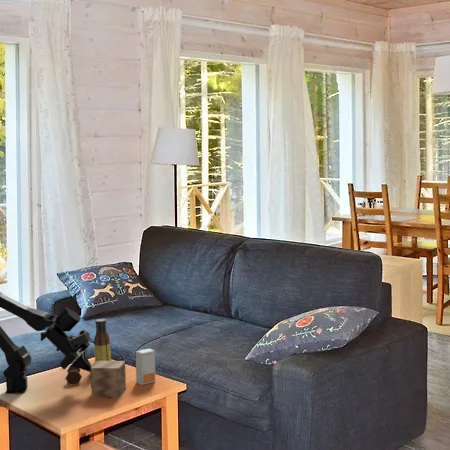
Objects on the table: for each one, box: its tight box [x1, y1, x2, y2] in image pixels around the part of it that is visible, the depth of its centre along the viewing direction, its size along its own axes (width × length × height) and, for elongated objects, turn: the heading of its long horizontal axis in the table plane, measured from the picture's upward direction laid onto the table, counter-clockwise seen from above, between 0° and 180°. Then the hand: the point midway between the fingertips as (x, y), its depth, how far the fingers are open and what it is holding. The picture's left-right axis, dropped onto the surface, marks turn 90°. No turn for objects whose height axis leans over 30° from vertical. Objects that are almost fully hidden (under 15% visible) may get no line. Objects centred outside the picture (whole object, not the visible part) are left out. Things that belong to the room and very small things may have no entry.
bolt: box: [65, 364, 83, 386], centre depth 277 cm, size 6×5×15 cm
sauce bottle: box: [93, 318, 112, 362], centre depth 287 cm, size 7×6×20 cm
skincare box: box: [135, 348, 156, 386], centre depth 270 cm, size 6×4×12 cm
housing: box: [89, 360, 127, 398], centre depth 259 cm, size 11×9×10 cm
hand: (92, 371), depth 259 cm, fingers closed, pressing on peg
